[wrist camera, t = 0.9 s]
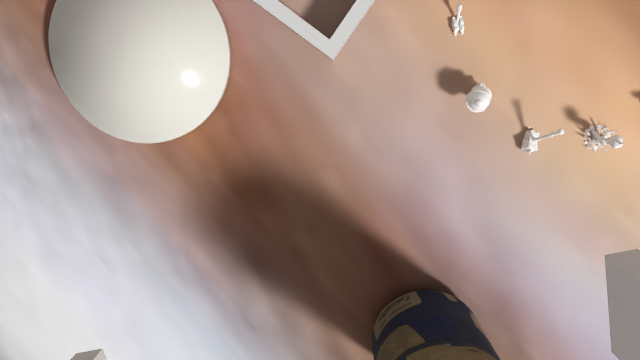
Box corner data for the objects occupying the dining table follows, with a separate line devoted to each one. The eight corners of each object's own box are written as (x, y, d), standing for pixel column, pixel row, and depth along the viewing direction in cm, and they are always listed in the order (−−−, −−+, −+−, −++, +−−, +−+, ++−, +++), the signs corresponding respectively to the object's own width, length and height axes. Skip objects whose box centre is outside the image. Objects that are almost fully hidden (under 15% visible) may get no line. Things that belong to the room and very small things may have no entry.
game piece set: (478, 184, 36) (494, 197, 32) (416, -67, 32) (427, -85, 28) (722, 113, 34) (770, 119, 30) (693, -167, 30) (744, -201, 26)
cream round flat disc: (27, 74, 35) (18, 74, 34) (109, -84, 32) (102, -89, 31) (173, 173, 37) (169, 176, 36) (265, 31, 33) (263, 30, 32)
